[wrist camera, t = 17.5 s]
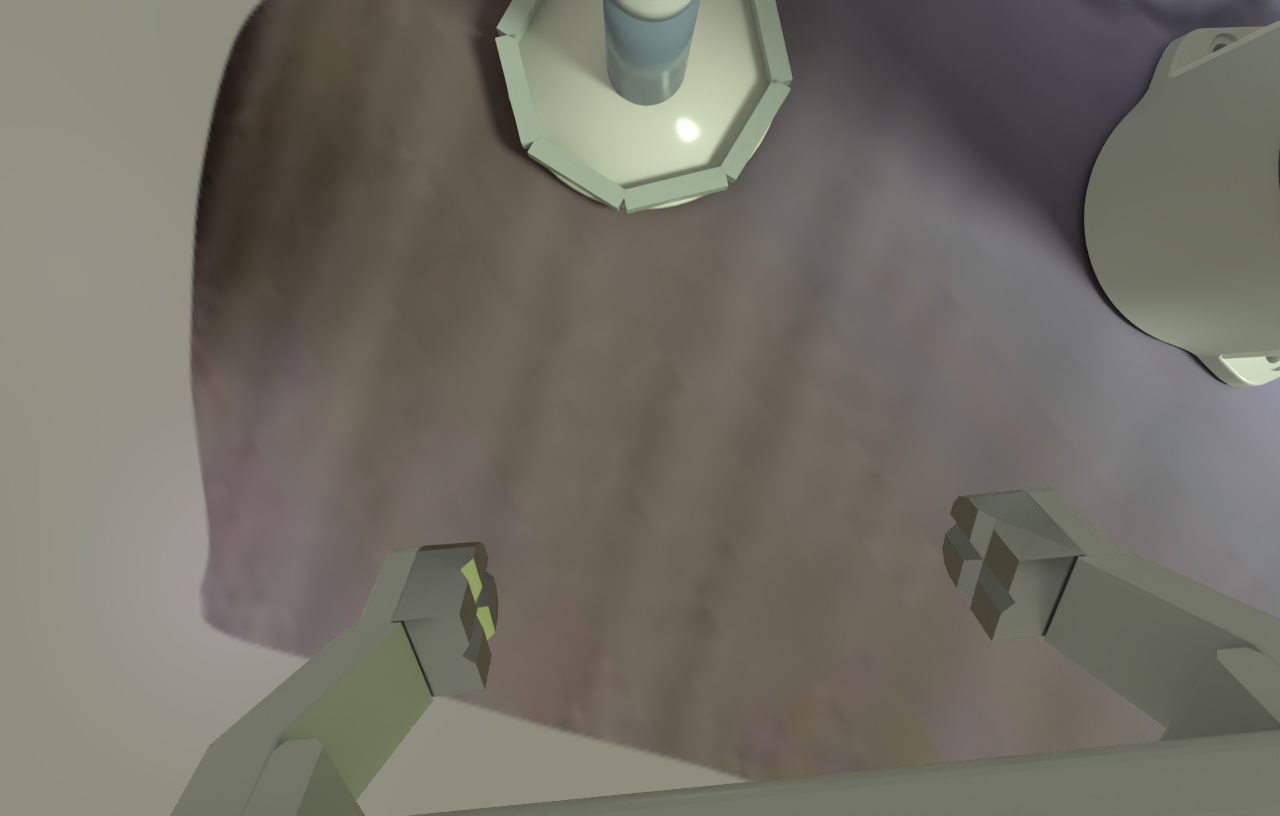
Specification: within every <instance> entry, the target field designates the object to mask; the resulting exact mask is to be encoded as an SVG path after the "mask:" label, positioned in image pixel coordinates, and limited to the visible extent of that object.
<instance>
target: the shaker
mask: <svg viewBox="0 0 1280 816" xmlns="http://www.w3.org/2000/svg"><path fill="white" fill-rule="evenodd" d="M699 4H700V0H603V11H604V28H605V46H606V64H607V73H608V77H609V80H610V82H611V84H612V86H613V87H614V89H615V90H616V91H617V93H618V94H619V95H620V96H622V97H623V98H624V99H626V100H627V101H629V102H631V103H634V104H637V105H643V106H651V105H656V104H660V103H662V102H664V101H666V100H668V99H669V98H670V97H672V96H673V95H674V94H675V93H676V92H677V90H678V89H679V88H680V86H681V84H682V82H683V79H684V76H685V72H686V67H687V62H688V57H689V53H690V48H691V43H692V38H693V33H694V28H695V23H696V19H697V14H698V9H699Z"/></svg>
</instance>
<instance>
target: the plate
mask: <svg viewBox="0 0 1280 816" xmlns="http://www.w3.org/2000/svg"><path fill="white" fill-rule="evenodd" d="M497 31H498V34H499V36H500V37H496V38H495V40H496V44H497V48H498V52H499V56H500V60H501V64H502V68H503V72H504V76H505V80H506V84H507V90H508V95H509V100H510V103H511V106H512V109H513V112H514V116H515V120H516V124H517V128H518V132H519V136H520V140H521V144H522V146H523V148H524V149H527V148H530V149H529V150H528V155H529V157H530V158H532V159H533V160H535V161H537V162H538V163H540V164H541V165H543V166H545V167H546V168H547V169H548V170H550V171H551V172H552V173H553V174H554V175H555V176H556V177H557V178H558V179H559V180H561V181H562V182H563V183H565V184H566V185H568V186H569V187H570V188H572V189H573V190H575V191H577V192H578V193H580V194H582V195H584V196H586V197H588V198H590V199H592V200H595V201H598V202H600V203H603V204H605V205H607V206H609V207H610V208H612V209H613V210H615V211H617V212H618V211H619V209H620V208H622V209H626V212H627V214H628V213H632V212H636V211H640V210H661V209H666V208H672V207H677V206H680V205H683V204H687V203H690V202H693V201H695V200H697V199H699V198H701V197H704V196H706V195H708V194H711V193H715V192H719V191H723V190H726V189H727V187H728V182H727V181H729V182H731V183H732V184H734V183H735V181H736V179H737V178H738V176H739V174H740V173H741V171H742V169H743V168H744V166H745V164H746V163H747V162H748V161H749V159H750V158H751V157H752V155H753V154H754V152H755V151H756V149H757V148H758V147H759V145H760V143H761V142H762V140H763V138H764V136H765V134H766V132H767V130H768V128H769V126H770V125H771V122H772V120H773V118H774V116H775V115H776V113H777V111H778V110H779V108H780V106H781V105H782V103H783V102H784V100H785V98H786V97H787V95H788V93H789V92H790V90H791V88H789V87H787V86H789V85H790V83H791V81H792V79H793V78H792V74H791V69H790V65H789V60H788V55H787V51H786V46H785V42H784V37H783V33H782V28H781V24H780V19H779V14H778V10H777V5H776V1H775V0H700V4H699V9H698V14H697V19H696V23H695V28H694V33H693V38H692V43H691V48H690V53H689V57H688V62H687V67H686V72H685V76H684V79H683V82H682V84H681V86H680V88H679V89H678V90H677V92H676V93H675V94H674V95H673V96H672V97H670V98H669V99H668V100H666V101H664V102H662V103H660V104H656V105H651V106H643V105H637V104H634V103H631V102H629V101H627V100H626V99H624V98H623V97H622V96H620V95H619V94H618V93H617V91H616V90H615V89H614V87H613V86H612V84H611V82H610V80H609V77H608V73H607V64H606V46H605V28H604V11H603V0H512V2H511V3H510V5H509V7H508V9H507V10H506V12H505V14H504V15H503V17H502V19H501V21H500V22H499V24H498V26H497Z"/></svg>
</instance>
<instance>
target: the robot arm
mask: <svg viewBox="0 0 1280 816" xmlns="http://www.w3.org/2000/svg"><path fill="white" fill-rule="evenodd" d="M1084 228H1085V238H1086V244H1087V249H1088V254H1089V257H1090V261H1091V264H1092V267H1093V269H1094V272H1095V274H1096V276H1097V278H1098V281H1099V283H1100V284H1101V286H1102V288H1103V290H1104V291H1105V293H1106V294H1107V296H1108V297H1109V299H1110V300H1111V301H1112V303H1113V304H1114V305H1115V307H1116V308H1117V309H1118V310H1119V311H1120V312H1121V313H1122V314H1123V315H1124V316H1125V317H1126V318H1127V319H1128V320H1129V321H1131V322H1132V323H1133V324H1134V325H1136V326H1137V327H1138V328H1140V329H1141V330H1143V331H1144V332H1146V333H1148V334H1150V335H1151V336H1153V337H1155V338H1157V339H1159V340H1162V341H1164V342H1167V343H1170V344H1172V345H1175V346H1177V347H1180V348H1183V349H1185V350H1187V351H1189V352H1191V353H1193V354H1194V355H1196V356H1197V357H1198V358H1199V359H1200V360H1201V361H1202V362H1203V363H1204V364H1205V365H1206V366H1207V367H1208V368H1209V369H1210V370H1211V371H1212V372H1213V373H1214V374H1215V375H1216V376H1217V377H1218V378H1219V379H1221V380H1222V381H1223V382H1225V383H1227V384H1228V385H1231V386H1234V387H1246V386H1258V385H1262V384H1265V383H1267V382H1269V381H1272V380H1274V379H1276V378H1278V377H1280V20H1279V21H1277V22H1275V23H1273V24H1270V25H1268V26H1260V27H1227V28H1202V29H1197V30H1194V31H1191V32H1189V33H1187V34H1185V35H1183V36H1181V37H1179V38H1177V39H1175V40H1173V41H1172V42H1171V43H1170V44H1169V45H1168V46H1167V48H1166V49H1165V51H1164V53H1163V54H1162V56H1161V58H1160V61H1159V63H1158V65H1157V68H1156V70H1155V73H1154V75H1153V78H1152V81H1151V83H1150V86H1149V89H1148V91H1147V92H1146V94H1145V95H1144V97H1143V98H1142V99H1141V100H1140V101H1139V103H1138V104H1137V105H1136V106H1135V107H1134V108H1133V109H1132V110H1131V111H1130V112H1129V113H1128V114H1127V116H1126V117H1125V118H1124V119H1123V120H1122V121H1121V122H1120V123H1119V125H1118V126H1117V127H1116V128H1115V129H1114V131H1113V132H1112V134H1111V135H1110V136H1109V138H1108V140H1107V141H1106V143H1105V144H1104V146H1103V148H1102V150H1101V152H1100V154H1099V156H1098V158H1097V160H1096V163H1095V165H1094V168H1093V170H1092V173H1091V176H1090V180H1089V184H1088V188H1087V193H1086V200H1085V210H1084ZM1266 357H1267V358H1266ZM951 516H952V517H953V518H954V520H955V521H956V524H955V525H954V526H953V527H952V528H951V529H950V530H949V531H948V532H947V533H946V534H945V539H944V544H943V555H944V563H945V566H946V569H947V571H948V574H949V576H950V578H951V579H952V581H953V582H954V584H955V586H956V587H957V588H958V589H960V590H962V591H963V592H965V593H967V594H968V595H970V596H972V602H971V607H970V609H971V610H972V612H973V613H974V615H975V616H976V618H977V619H978V621H979V622H980V624H981V626H982V627H983V629H984V630H985V632H986V633H987V635H988V636H989V638H990V639H991V641H1003V640H1017V639H1031V638H1045V639H1044V641H1046V642H1047V643H1049V644H1050V645H1051V646H1053V647H1054V648H1056V649H1057V650H1058V651H1060V652H1061V653H1063V654H1064V655H1065V656H1067V657H1068V658H1069V659H1071V660H1072V661H1074V662H1075V663H1076V664H1078V665H1079V666H1081V667H1082V668H1083V669H1085V670H1086V671H1088V672H1089V673H1090V674H1092V675H1093V676H1095V677H1096V678H1097V679H1099V680H1100V681H1102V682H1103V683H1104V684H1106V685H1107V686H1109V687H1110V688H1111V689H1113V690H1114V691H1116V692H1117V693H1118V694H1120V695H1121V696H1123V697H1124V698H1125V699H1127V700H1128V701H1129V702H1131V703H1132V704H1134V705H1135V706H1136V707H1138V708H1139V709H1141V710H1142V711H1143V712H1145V713H1146V714H1148V715H1149V716H1150V717H1152V718H1153V719H1155V720H1156V721H1157V722H1159V723H1160V724H1162V725H1163V726H1164V727H1166V728H1167V729H1166V731H1165V733H1164V734H1163V736H1162V737H1161V739H1160V740H1159V741H1157V742H1147V743H1137V744H1127V745H1116V746H1106V747H1096V748H1086V749H1076V750H1066V751H1056V752H1046V753H1036V754H1026V755H1016V756H1006V757H996V758H986V759H976V760H965V761H955V762H945V763H935V764H925V765H915V766H905V767H895V768H885V769H875V770H865V771H855V772H845V773H835V774H825V775H815V776H805V777H795V778H784V779H774V780H764V781H754V782H744V783H734V784H724V785H714V786H704V787H693V788H683V789H673V790H664V791H653V792H643V793H632V794H622V795H612V796H602V797H592V798H583V799H573V800H562V801H552V802H542V803H532V804H521V805H511V806H501V807H491V808H481V809H470V810H460V811H450V812H440V813H430V814H421V815H410V816H1280V619H1279V618H1276V617H1274V616H1272V615H1270V614H1267V613H1265V612H1263V611H1261V610H1258V609H1256V608H1254V607H1252V606H1250V605H1247V604H1245V603H1243V602H1241V601H1238V600H1236V599H1234V598H1232V597H1229V596H1227V595H1225V594H1223V593H1221V592H1218V591H1216V590H1214V589H1212V588H1209V587H1207V586H1205V585H1203V584H1200V583H1198V582H1196V581H1194V580H1191V579H1189V578H1187V577H1185V576H1183V575H1180V574H1178V573H1176V572H1174V571H1171V570H1169V569H1167V568H1165V567H1162V566H1160V565H1158V564H1156V563H1154V562H1151V561H1149V560H1147V559H1145V558H1142V557H1140V556H1138V555H1136V554H1133V553H1131V552H1125V553H1120V552H1119V551H1118V550H1117V549H1116V548H1115V547H1114V546H1113V545H1112V544H1111V543H1110V542H1109V541H1108V540H1107V539H1106V538H1105V537H1104V536H1103V535H1102V534H1101V533H1100V532H1099V531H1098V530H1097V529H1096V528H1095V527H1094V526H1093V525H1092V524H1091V523H1090V522H1089V521H1088V520H1087V519H1086V518H1085V517H1084V516H1082V515H1081V514H1080V513H1079V512H1078V511H1077V510H1076V509H1075V508H1074V507H1073V506H1072V505H1071V504H1070V503H1069V502H1068V501H1067V500H1066V499H1065V498H1064V497H1063V496H1062V495H1061V494H1060V493H1059V492H1058V491H1057V490H1055V489H1053V488H1050V487H1048V486H1046V487H1037V488H1028V489H1019V490H1017V491H1004V492H994V493H984V494H975V495H965V496H958V498H957V499H956V500H955V501H954V503H953V506H952V510H951ZM487 562H488V556H487V553H486V550H485V546H484V544H483V543H481V542H470V543H456V544H442V545H428V546H422V547H408V548H393V549H392V550H391V551H390V552H389V553H388V554H387V555H386V558H385V560H384V563H383V565H382V567H381V570H380V572H379V574H378V577H377V579H376V582H375V584H374V586H373V589H372V591H371V594H370V596H369V598H368V601H367V603H366V605H365V608H364V610H363V613H362V615H361V617H360V620H359V622H358V625H357V626H354V627H347V628H346V629H345V630H344V631H343V632H342V633H340V634H339V635H338V636H337V637H336V638H335V639H333V640H332V641H331V642H330V643H329V644H328V645H326V646H325V647H324V648H323V649H322V650H320V651H319V652H318V653H317V654H316V655H315V656H313V657H312V658H311V659H310V660H309V661H308V662H306V663H305V664H304V665H303V666H302V667H301V668H300V669H298V670H297V671H296V672H295V673H294V674H292V675H291V676H290V677H289V678H288V679H287V680H286V681H284V682H283V683H282V684H281V685H280V686H278V687H277V688H276V689H275V690H274V691H272V692H271V693H270V694H269V695H268V696H267V697H266V698H264V699H263V700H262V701H261V702H260V703H258V705H256V706H255V707H254V708H253V709H251V710H250V711H249V712H248V713H247V714H246V715H244V716H243V717H242V718H241V719H240V720H239V721H237V722H236V723H235V724H234V725H233V726H231V727H230V728H229V729H228V730H227V731H226V732H224V733H223V734H222V735H221V736H220V737H219V738H217V739H216V740H215V741H214V742H213V743H212V744H210V745H209V747H208V749H207V751H206V752H205V754H204V756H203V758H202V760H201V762H200V763H199V765H198V767H197V769H196V771H195V772H194V774H193V776H192V778H191V779H190V781H189V783H188V785H187V787H186V788H185V790H184V792H183V794H182V795H181V797H180V799H179V801H178V803H177V804H176V806H175V808H174V810H173V812H172V813H171V815H170V816H365V815H364V813H363V812H362V810H361V808H360V807H359V805H358V803H357V802H356V800H357V799H358V797H359V796H360V795H361V793H362V792H363V791H364V790H365V788H366V787H367V786H368V784H369V783H370V782H371V780H372V779H373V778H374V776H375V775H376V774H377V773H378V771H379V770H380V769H381V767H382V766H383V765H384V763H385V762H386V761H387V759H388V758H389V757H390V756H391V754H392V753H393V752H394V750H395V749H396V748H397V747H398V745H399V744H400V743H401V741H402V740H403V738H404V737H405V736H406V735H407V734H408V732H409V731H410V730H411V728H412V727H413V726H414V724H415V723H416V722H417V720H418V719H419V718H420V717H421V715H422V714H423V713H424V711H425V710H426V709H427V707H428V706H429V705H430V704H431V702H432V701H433V698H432V697H437V696H445V695H453V694H461V693H469V692H477V691H484V690H485V687H486V682H487V676H488V671H489V665H490V660H491V652H490V648H489V645H488V642H487V641H488V639H489V638H490V637H491V636H492V635H493V634H494V633H495V632H496V625H497V619H498V596H497V588H496V584H495V580H494V577H493V576H492V575H490V574H489V573H488V572H486V567H487Z"/></svg>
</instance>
